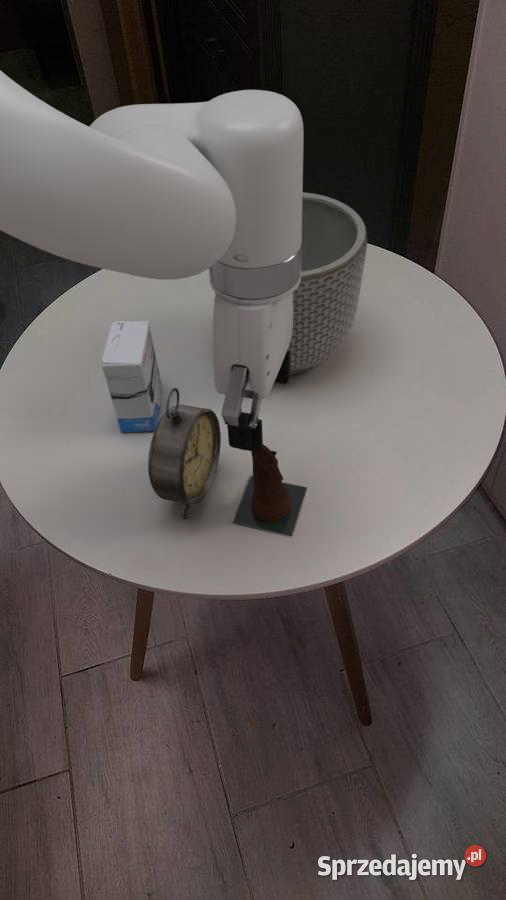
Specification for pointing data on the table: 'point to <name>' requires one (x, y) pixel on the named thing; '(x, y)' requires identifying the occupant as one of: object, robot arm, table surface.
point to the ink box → (132, 375)
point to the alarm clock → (184, 453)
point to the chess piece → (268, 488)
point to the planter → (326, 280)
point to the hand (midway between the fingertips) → (260, 412)
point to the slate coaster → (282, 526)
